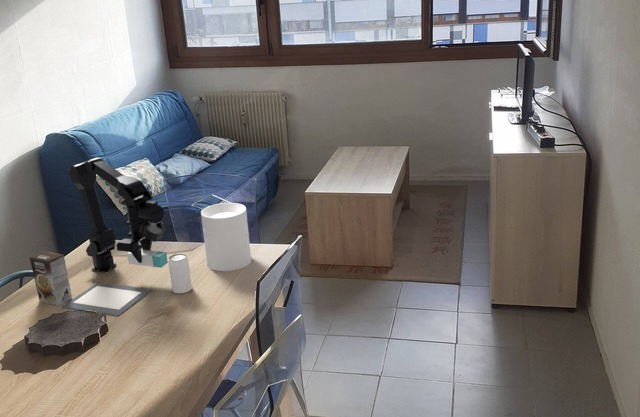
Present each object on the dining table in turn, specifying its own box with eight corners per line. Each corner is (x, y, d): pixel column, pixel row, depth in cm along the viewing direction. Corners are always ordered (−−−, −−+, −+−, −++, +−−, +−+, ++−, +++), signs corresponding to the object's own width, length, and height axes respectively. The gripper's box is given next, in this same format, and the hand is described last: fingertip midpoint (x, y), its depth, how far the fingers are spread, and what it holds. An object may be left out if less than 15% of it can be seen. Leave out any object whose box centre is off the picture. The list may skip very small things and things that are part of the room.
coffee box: (38, 301, 210) (28, 257, 205) (54, 293, 216) (44, 249, 210) (57, 306, 206) (47, 261, 201) (73, 298, 212) (64, 253, 206)
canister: (199, 269, 227) (192, 217, 221) (218, 251, 242) (213, 201, 235) (240, 273, 223) (235, 219, 216) (257, 254, 237) (253, 203, 230)
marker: (128, 263, 219) (127, 253, 217) (135, 259, 222) (134, 248, 221) (161, 267, 214) (159, 256, 213) (167, 262, 218) (166, 252, 216)
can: (190, 293, 210) (185, 260, 206) (170, 294, 210) (165, 261, 206) (194, 285, 216) (189, 252, 212) (175, 285, 216) (170, 253, 212)
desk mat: (62, 307, 205) (61, 306, 205) (98, 283, 221) (97, 281, 221) (118, 316, 198) (118, 314, 198) (151, 290, 214) (151, 288, 213)
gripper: (140, 229, 202) (148, 274, 207) (173, 209, 218) (178, 251, 224) (111, 227, 206) (119, 270, 211) (145, 207, 222) (152, 248, 228)
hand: (144, 260), depth 218 cm, fingers closed on marker, 4 cm apart
